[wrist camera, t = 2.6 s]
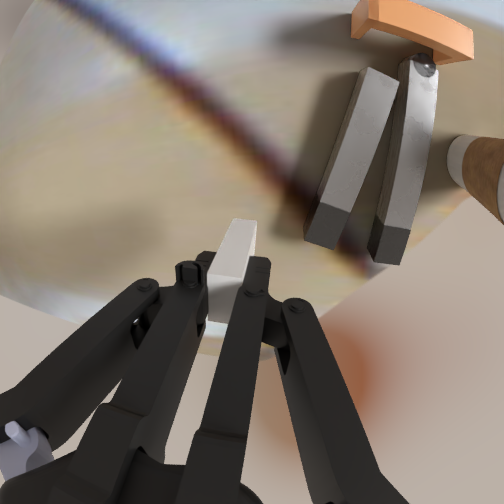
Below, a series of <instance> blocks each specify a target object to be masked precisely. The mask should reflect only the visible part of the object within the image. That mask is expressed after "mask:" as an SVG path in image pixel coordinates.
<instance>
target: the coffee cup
mask: <svg viewBox="0 0 504 504" xmlns="http://www.w3.org/2000/svg"><path fill="white" fill-rule="evenodd" d="M447 167H448V171H449V174H450V176H451V177H452V179H453V180H454V181H455V182H456V183H457V184H458V185H460V186H461V187H462V188H463V189H465V190H466V191H467V192H469V193H470V194H471V195H472V196H473V197H474V198H475V199H476V200H478V201H479V202H480V203H481V204H482V205H483V206H484V207H485V208H486V209H488V210H489V211H490V212H491V213H492V214H493V215H494V216H495V217H496V218H497V219H498V220H499V221H500V222H501V223H502V224H503V225H504V139H498V138H491V137H481V136H474V135H461V136H459V137H457V138H456V139H455V140H454V141H453V142H452V143H451V145H450V147H449V150H448V153H447Z"/></svg>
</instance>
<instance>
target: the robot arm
mask: <svg viewBox="0 0 504 504" xmlns="http://www.w3.org/2000/svg"><path fill="white" fill-rule="evenodd" d="M256 228H257V221H255V220H246V219H237V218H233V220H232V222H231V224H230V226H229V228H228V230H227V233H226V235H225V237H224V239H223V241H222V243H221V245H220V247H219V249H218V251H217V252H210V251H203V252H202V253H200V254H199V255H198V256H197V258H196V259H195V261H182V262H180V263H178V264H177V265H176V266H175V271H176V283H175V285H174V286H168V287H159V284H158V282H157V281H156V280H154V279H151V278H143V279H139V280H137V281H135V282H134V283H132V284H131V285H130V286H129V287H127V288H126V289H125V290H124V291H123V292H121V293H120V294H119V295H118V296H116V297H115V298H114V299H113V300H112V301H110V302H109V303H108V304H107V305H106V306H104V307H103V308H102V309H101V310H100V311H98V312H97V313H96V314H95V315H94V316H92V317H91V318H90V319H89V320H88V321H87V322H85V323H84V324H83V325H82V326H81V327H80V328H79V329H77V330H76V331H75V332H74V333H73V334H72V335H71V336H69V337H68V338H67V339H66V340H65V341H64V342H63V343H61V344H60V345H59V346H58V347H57V348H56V349H55V350H54V351H53V352H51V354H50V355H48V356H47V357H46V358H45V359H44V360H43V361H42V362H41V363H39V365H37V366H36V367H35V368H34V369H33V370H32V371H31V372H30V373H29V374H28V375H27V376H26V377H25V378H24V379H23V380H22V381H20V382H19V383H18V384H17V385H16V386H15V387H14V388H12V389H10V390H8V391H6V392H4V393H2V394H0V469H1V472H2V474H3V477H4V479H5V481H6V482H5V483H4V484H3V485H2V487H1V488H0V504H263V503H262V501H261V500H260V499H259V497H258V496H257V495H256V494H255V493H254V492H253V491H252V490H251V489H249V488H248V487H247V486H245V485H244V484H242V483H241V482H240V480H241V474H242V468H243V462H244V456H245V450H246V444H247V437H248V430H249V424H250V417H251V411H252V404H253V397H254V390H255V384H256V376H257V370H258V363H259V355H260V348H261V342H263V343H266V344H268V345H271V346H274V351H275V355H276V359H277V363H278V367H279V371H280V375H281V379H282V383H283V388H284V392H285V396H286V400H287V404H288V408H289V412H290V416H291V421H292V425H293V429H294V433H295V437H296V441H297V445H298V449H299V453H300V457H301V461H302V465H303V470H304V474H305V478H306V482H307V486H308V490H309V493H310V496H311V499H312V502H313V504H409V503H408V502H407V501H406V499H404V498H403V496H402V495H401V494H400V493H399V492H398V491H397V490H396V489H395V488H394V487H393V485H392V484H391V483H390V482H389V481H388V480H387V479H386V478H385V477H384V476H383V474H382V473H381V472H380V470H379V467H378V464H377V462H376V459H375V456H374V454H373V451H372V449H371V446H370V443H369V441H368V438H367V436H366V433H365V430H364V428H363V425H362V423H361V421H360V418H359V415H358V413H357V410H356V409H355V406H354V403H353V401H352V398H351V396H350V394H349V391H348V388H347V386H346V384H345V381H344V379H343V376H342V374H341V372H340V369H339V367H338V365H337V362H336V360H335V358H334V355H333V353H332V350H331V348H330V346H329V343H328V341H327V339H326V337H325V334H324V332H323V330H322V327H321V325H320V323H319V321H318V318H317V316H316V314H315V312H314V309H313V307H312V306H311V304H310V303H309V302H307V301H306V300H304V299H301V298H289V299H287V300H285V301H284V302H283V303H282V302H279V301H277V300H275V299H274V298H272V297H271V296H270V295H269V293H268V286H269V277H270V269H271V262H270V260H269V259H268V258H265V257H257V256H254V251H255V239H256ZM207 314H208V321H213V322H220V323H226V324H228V327H227V331H226V334H225V338H224V342H223V345H222V349H221V352H220V356H219V360H218V364H217V367H216V371H215V374H214V378H213V382H212V385H211V389H210V393H209V396H208V400H207V403H206V407H205V411H204V415H203V418H202V422H201V425H200V428H199V429H198V430H197V431H196V432H195V434H194V437H193V440H192V444H191V447H190V451H189V454H188V458H187V461H186V465H170V464H164V460H165V446H166V442H167V439H168V436H169V433H170V430H171V427H172V424H173V421H174V418H175V415H176V412H177V409H178V406H179V403H180V400H181V397H182V394H183V391H184V388H185V385H186V383H187V380H188V377H189V374H190V371H191V368H192V365H193V362H194V359H195V356H196V354H197V351H198V348H199V345H200V342H201V339H202V336H203V334H204V331H205V328H206V320H205V319H206V317H207ZM136 319H138V320H137V321H136V322H135V323H133V322H134V321H135V320H136ZM121 379H122V380H121ZM120 380H121V382H120ZM119 382H120V384H119V386H118V388H117V390H116V392H115V394H114V396H113V398H112V400H111V401H110V402H109V403H102V404H100V403H101V402H102V401H103V400H104V399H105V397H106V396H107V395H108V394H109V393H110V392H111V391H112V389H113V388H114V387H115V386H116V385H117V384H118V383H119ZM99 404H100V405H99ZM98 405H99V406H98ZM97 406H98V408H97ZM96 408H97V409H96ZM95 409H96V411H95V413H94V415H93V417H92V419H91V421H90V423H89V425H88V427H87V429H86V431H85V433H84V435H83V437H82V439H81V441H80V443H79V445H78V447H77V450H75V451H73V452H71V453H69V454H67V455H64V456H62V457H60V458H58V459H56V460H54V457H53V455H52V452H53V451H54V450H56V449H58V448H59V447H60V446H61V445H63V444H64V443H65V442H66V441H67V440H68V439H69V438H70V437H71V436H72V435H73V434H74V433H75V432H76V431H77V429H78V428H79V427H80V426H81V425H82V423H84V421H85V420H86V419H87V418H88V417H89V416H90V415H91V413H92V412H93V411H94V410H95Z"/></svg>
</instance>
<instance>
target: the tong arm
mask: <svg viewBox="0 0 504 504" xmlns="http://www.w3.org/2000/svg"><path fill="white" fill-rule="evenodd" d="M398 86H399V81H397V80H395V79H393V78H391V77H389V76H387V75H385V74H383V73H381V72H379V71H377V70H374V69H372V68H370V67H367V68H365V69H363V70H361V71H360V73H359V76H358V79H357V82H356V85H355V88H354V91H353V94H352V97H351V100H350V102H349V105H348V108H347V111H346V114H345V117H344V120H343V123H342V125H341V128H340V131H339V134H338V137H337V139H336V142H335V145H334V148H333V150H332V153H331V156H330V159H329V161H328V164H327V167H326V169H325V172H324V175H323V177H322V180H321V183H320V185H319V188H318V190H317V193H316V196H315V198H314V201H313V203H312V206H311V208H310V211H309V214H308V216H307V219H306V221H305V224H304V226H303V232H304V241H307V242H310V243H313V244H316V245H319V246H322V247H325V248H328V249H331V250H334V248H335V246H336V244H337V242H338V239H339V237H340V235H341V233H342V231H343V228H344V226H345V224H346V222H347V220H348V217H349V215H350V212H351V210H352V207H353V205H354V203H355V200H356V198H357V196H358V193H359V191H360V189H361V186H362V184H363V181H364V179H365V176H366V174H367V172H368V169H369V167H370V164H371V161H372V159H373V156H374V154H375V151H376V149H377V146H378V143H379V141H380V138H381V135H382V132H383V130H384V127H385V124H386V121H387V118H388V116H389V113H390V110H391V107H392V104H393V101H394V98H395V95H396V92H397V89H398Z"/></svg>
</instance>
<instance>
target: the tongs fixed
mask: <svg viewBox="0 0 504 504" xmlns="http://www.w3.org/2000/svg"><path fill="white" fill-rule="evenodd" d="M397 81H399V86H398V89H397V92H396V101H395V109H394V118H393V125H392V132H391V139H390V145H389V151H388V157H387V163H386V168H385V173H384V178H383V183H382V188H381V193H380V198H379V202H378V206H377V211H376V215H375V219H374V223H373V227H372V231H371V235H370V239H369V242H368V246H367V249H368V251H369V253H370V255H371V257H372V259H373V261H374V262H377V263H385V264H392V265H400V262H401V259H402V256H403V253H404V250H405V247H406V244H407V241H408V238H409V234H410V231H411V226H412V223H413V219H414V216H415V212H416V208H417V204H418V200H419V196H420V192H421V188H422V184H423V179H424V175H425V170H426V165H427V160H428V155H429V149H430V143H431V137H432V131H433V124H434V116H435V108H436V98H437V86H438V70H436V66H435V63H434V61H433V60H432V58H431V57H430V56H428V55H427V54H424V53H418V54H415V55H413V56H410V57H407V58H405V59H404V60H403V61H402V63H400V64H398V79H397Z"/></svg>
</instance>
